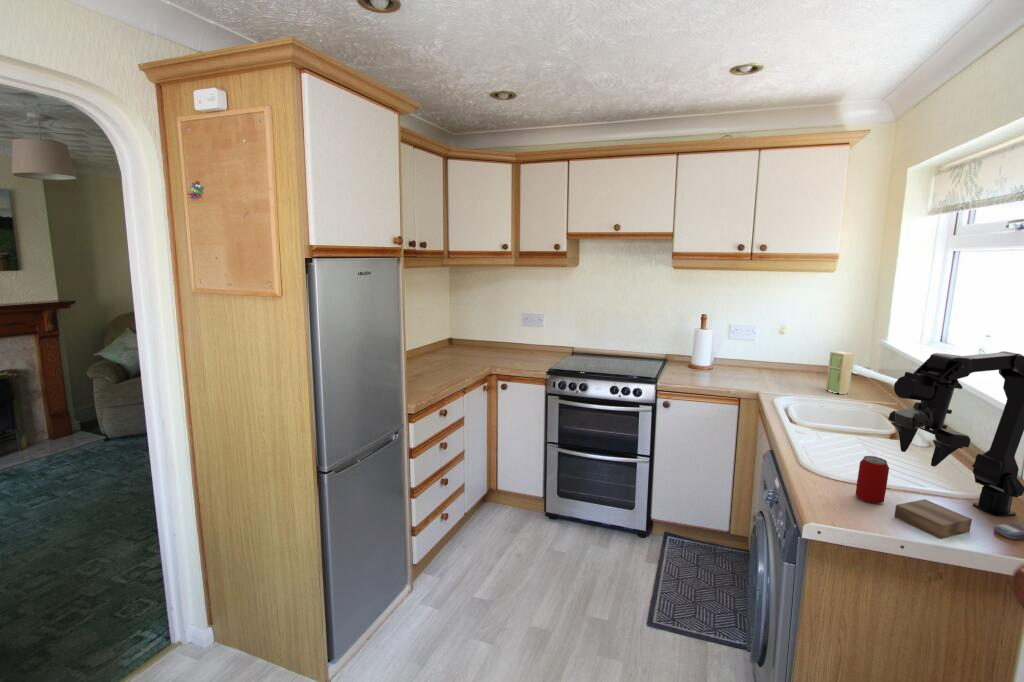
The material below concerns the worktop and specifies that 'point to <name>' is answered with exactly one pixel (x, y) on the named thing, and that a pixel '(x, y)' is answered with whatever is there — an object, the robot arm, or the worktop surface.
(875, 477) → the beverage can
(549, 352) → the worktop surface
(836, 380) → the toy refrigerator
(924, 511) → the walnut block
